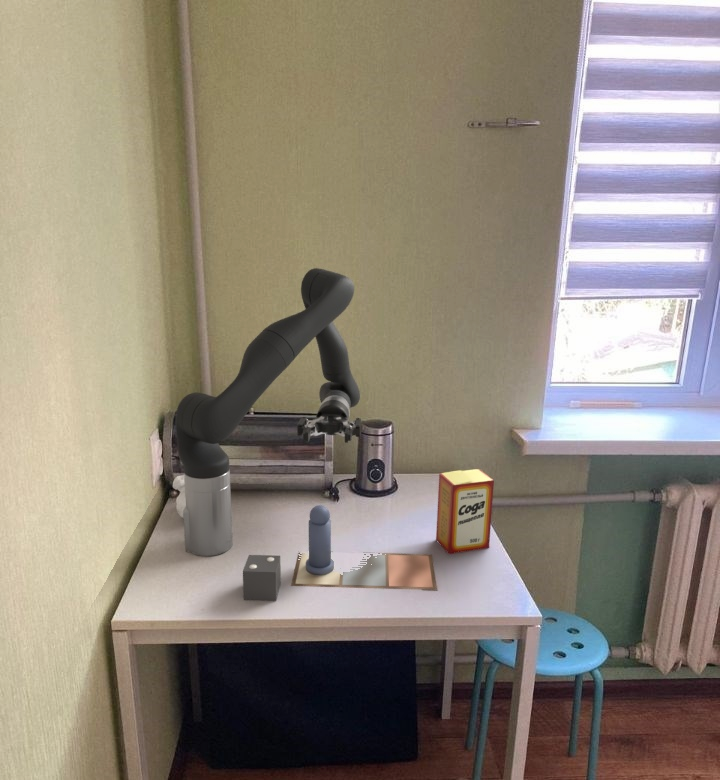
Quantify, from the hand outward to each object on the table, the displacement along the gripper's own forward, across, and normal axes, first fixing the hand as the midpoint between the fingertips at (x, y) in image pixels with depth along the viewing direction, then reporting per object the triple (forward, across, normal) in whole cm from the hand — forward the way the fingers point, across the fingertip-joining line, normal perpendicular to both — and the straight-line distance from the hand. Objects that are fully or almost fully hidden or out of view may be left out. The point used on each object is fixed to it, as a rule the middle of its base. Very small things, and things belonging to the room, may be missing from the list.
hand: (326, 438), depth 143 cm
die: (+25, -10, +22) cm, 35 cm away
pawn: (+16, 0, +22) cm, 27 cm away
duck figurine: (-5, -33, +22) cm, 40 cm away
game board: (+16, +9, +22) cm, 29 cm away
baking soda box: (+3, +30, +23) cm, 38 cm away
